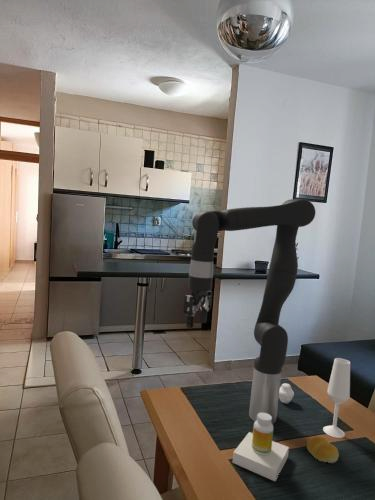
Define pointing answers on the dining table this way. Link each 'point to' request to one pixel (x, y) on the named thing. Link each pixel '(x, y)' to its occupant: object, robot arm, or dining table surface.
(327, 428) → the champagne flute
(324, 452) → the bread roll
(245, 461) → the stack of napkins
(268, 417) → the supplement bottle
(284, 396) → the white lumpy ovoid
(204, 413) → the dining table surface
